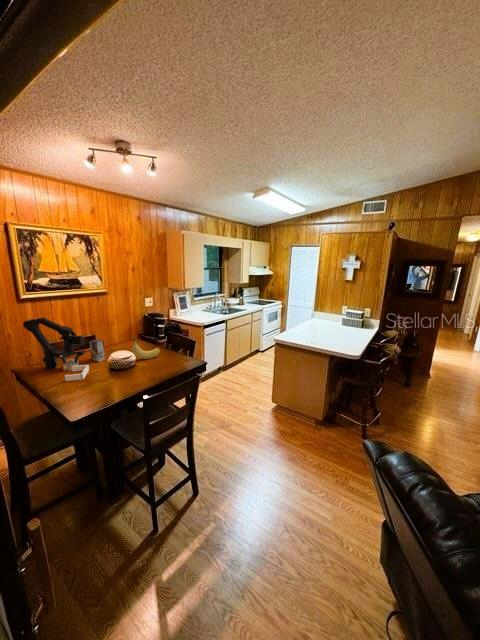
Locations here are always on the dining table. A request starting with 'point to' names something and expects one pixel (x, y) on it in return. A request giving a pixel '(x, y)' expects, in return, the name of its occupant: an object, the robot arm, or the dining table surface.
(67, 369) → the crate with rolls
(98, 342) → the coffee box
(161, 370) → the dining table surface
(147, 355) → the banana
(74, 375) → the beige u-shaped block
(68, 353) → the robot arm
